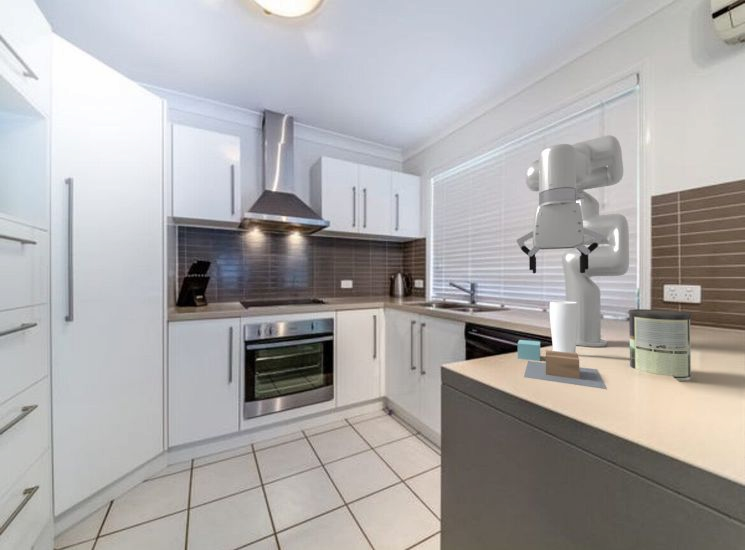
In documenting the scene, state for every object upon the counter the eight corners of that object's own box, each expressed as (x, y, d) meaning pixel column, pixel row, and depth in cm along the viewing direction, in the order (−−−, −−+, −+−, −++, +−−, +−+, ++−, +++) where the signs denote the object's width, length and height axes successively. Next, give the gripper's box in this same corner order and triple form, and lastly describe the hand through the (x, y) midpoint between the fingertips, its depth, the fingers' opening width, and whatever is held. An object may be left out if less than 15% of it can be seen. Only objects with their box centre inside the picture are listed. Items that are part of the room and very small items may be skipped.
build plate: (528, 364, 76) (528, 360, 76) (597, 373, 69) (597, 369, 69) (523, 381, 64) (523, 376, 64) (607, 394, 57) (606, 389, 57)
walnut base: (546, 367, 71) (546, 350, 71) (577, 371, 68) (577, 353, 68) (545, 374, 65) (545, 356, 66) (579, 379, 62) (579, 359, 62)
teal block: (519, 358, 83) (519, 339, 83) (540, 360, 80) (540, 341, 80) (517, 362, 79) (517, 343, 79) (539, 365, 76) (539, 345, 76)
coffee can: (618, 366, 75) (617, 309, 75) (664, 367, 74) (663, 309, 74) (652, 380, 64) (652, 314, 64) (706, 382, 63) (705, 314, 63)
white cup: (544, 355, 86) (543, 301, 86) (559, 352, 89) (559, 300, 89) (568, 360, 80) (568, 303, 80) (584, 357, 82) (583, 302, 83)
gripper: (599, 199, 71) (600, 273, 70) (517, 207, 79) (517, 273, 79) (606, 191, 64) (606, 272, 64) (515, 201, 72) (515, 273, 72)
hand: (557, 273), depth 71 cm, fingers open, 9 cm apart
